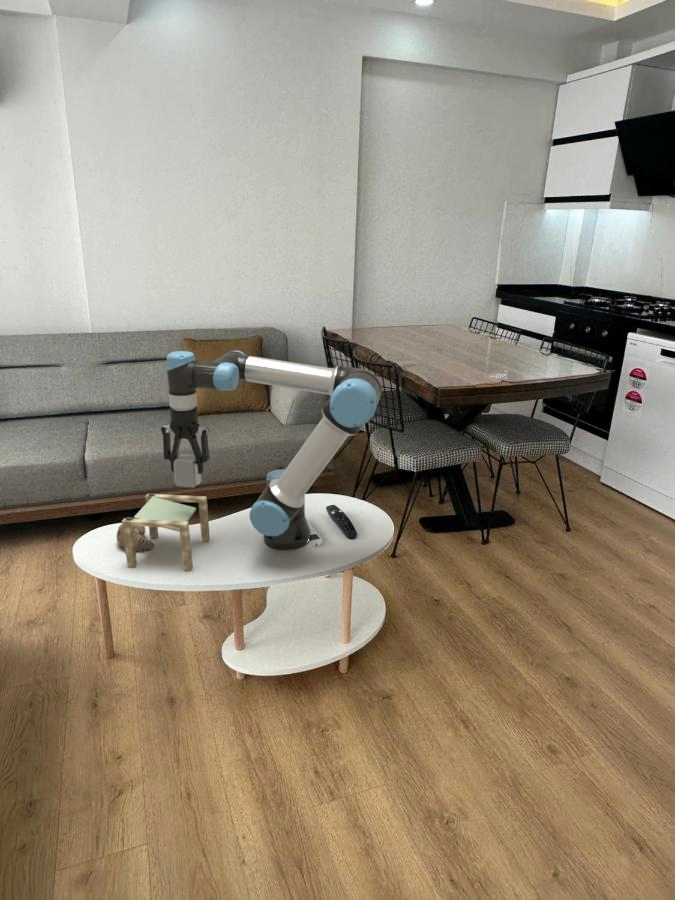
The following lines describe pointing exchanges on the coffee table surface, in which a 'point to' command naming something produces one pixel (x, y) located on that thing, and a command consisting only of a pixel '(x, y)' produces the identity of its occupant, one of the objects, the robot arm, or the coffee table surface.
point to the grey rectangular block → (185, 470)
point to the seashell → (136, 538)
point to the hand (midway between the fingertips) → (188, 482)
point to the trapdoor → (165, 511)
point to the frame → (154, 525)
